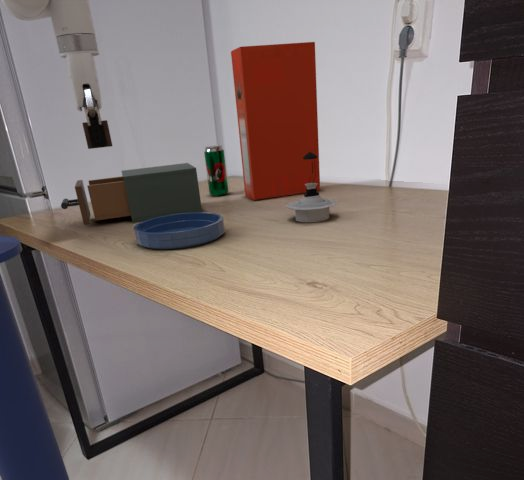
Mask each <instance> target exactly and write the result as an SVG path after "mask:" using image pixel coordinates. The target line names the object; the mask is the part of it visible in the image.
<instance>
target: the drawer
mask: <svg viewBox="0 0 524 480" xmlns="http://www.w3.org/2000/svg"><path fill="white" fill-rule="evenodd" d="M86 188H87V191H88V195H89V199H90V204H91V207H92V208H91V209H92V213H93V216H94V220H95V221H102V220H109V219H116V218H117V219H118V218H125V217H131V212H130V207H129V202H128V197H127V192H126V187H125V182H124V178H123V176H122V175H121V176H115V177H105V178H97V179H90V180H88V185H87V186H86ZM86 188H85V185H84V181H83V179H79V180H76V182H75V185H74V190H75V191H74V192H75V194H76V198H75V199H68V198H63V200H62V201H61V204H60V208H61V209H63V210H67V209H68V208H69V207H77V206H79V212H80V215H81V219H82V223H83V225H89V224H90V220H91V211H90V205H89V201H88V197H87V193H86Z"/></svg>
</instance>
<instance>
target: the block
mask: <svg viewBox="0 0 524 480" xmlns="http://www.w3.org/2000/svg"><path fill="white" fill-rule="evenodd" d="M98 122H99V121H98ZM101 123H102V125H103V126H104V131H105V135H106V140H107V146H103V147H92V145H91V141H90V136H89V132H88V128H87V127H88V123H87V121H86V122H85V121H84V122H82V128H83V132H84V136H85V140H86V141H85V142H86V145H87V149H88V150H90V149H92V150H93V149H101V148H110V147H113V141H112V137H111V132H110V128H109V121H108V120H107V119H105V120H104V119H103V120H101Z"/></svg>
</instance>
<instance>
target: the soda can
mask: <svg viewBox="0 0 524 480" xmlns="http://www.w3.org/2000/svg"><path fill="white" fill-rule="evenodd" d="M204 160H205V169H206V177H207V185H208V193H209V195H210V196H211V197H223V196H224V197H225V196H227V195H228V193H229V183H228V175H227V165H226V157H225V150H224V148H223V146H222V145H210V146H205V147H204Z"/></svg>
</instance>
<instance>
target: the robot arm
mask: <svg viewBox="0 0 524 480" xmlns="http://www.w3.org/2000/svg"><path fill="white" fill-rule="evenodd" d="M1 2H2V3H1V4H2V5H3V6H4V8H5V11H7V12H8V13H9V14H10V15H11V16H12V17H14V18H16V19H18V20H21V21H26V22H28V21H35V20H43V19H46V18H50V19H51V23H52V27H53V31H54V36H55V40H56V44H57V48H58V53H59V56H60V58H61V59H66V64H67V71H68V75H69V80H70V84H71V88H72V93H73V97H74V101H75V106H76V109H77V111H79V112H83V108H84V113H85V117H86V122H87V123H88V127H87V128H88V132H89V136H90V141H91V145H92V147H102V148H104V147H103V146H107V140H106V135H105V131H104V126H103V125H102V123H101V121H102V117H101V113H100V110H101V109H102V107H103V106H102V105H103V104H102V96H101V95H102V94H101V87H100V81H99V77H98V72H97V71H98V70H97V67H96V61H95V57H96V56H99V55H100V51H99V45H98V41H97V37H96V32H95V31H96V30H95V26H94V21H93V16H92V12H91V7H90V2H89V0H1ZM98 121H99V122H98Z"/></svg>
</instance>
